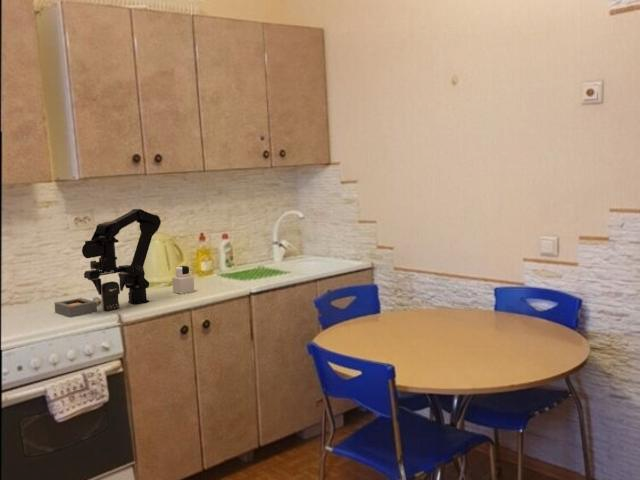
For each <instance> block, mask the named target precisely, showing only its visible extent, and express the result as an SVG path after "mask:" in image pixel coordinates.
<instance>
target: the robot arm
mask: <svg viewBox="0 0 640 480" xmlns="http://www.w3.org/2000/svg"><path fill="white" fill-rule="evenodd" d="M135 222H136V223H138V224H139V230H140V234H139V238H138V242H137V245H136V247H135V248H136V249H135V251H134V254H133V257H132V261H131V263H130V264H123V265H118V266H117V260H118V256H116V246H115V245H116V244H115V243H119V241H120V240H119V239H117V238H116V237H117V235H118V234H120V232H121V231H120V230H122V229H123V228H125V227H128V226H129V225H130V224H133V223H135ZM161 224H162V220H161V218H160V216H159V215H157V214H154V213H151V212H147V211H145V210H144V209H142V208H134V209H131V210H130V211H128V212H126V213H124V214H123V215H122V216H119V217H117V218H116V219H114V220H113V219H112V220H111V221H106V222H101V223H98V224H97V225H96V228H95V230H94V232H93V235H92V237H91V239H90V240H85V241H84V245H82V248H81V252H82V256H83V257H84V258H85V259H91V258H92V259H93V258H98V257H99V258H98V261H97V260H92V261H89V263H90V270H89V269H88V270H85V271H84V273H83V277H84V279H87V280H88V281H90V282H92V283H93V285H94V287H95V289H96V291H97V294H98V295H99V296H101V292H102V291H101V285H102V279H101V278H100V277H101V276H105V275H106V276H107V275H112V274H118V275H117V276H118V277H119V289H120V292H123V290H124V287H125V288H126V289H128V295H127V296H128V301H127V302H128V303H130V304H134V305H137V304H138V305H139V304H144V303H149V302H150V301H149V300H148V298H147V288H148V289H149V286H150V282H149V281H148V280H147V279H146V278H145V275H146V274H145V273H146V272H145V269H144V265H145V261H146V259H147V255H148V253H149V252H148V251H149V248H150V245H151V242H152V239H153V236H154V235H155V234H156V233H157V232H158V230H159V228H160V227H161Z"/></svg>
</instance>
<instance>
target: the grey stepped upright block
mask: <svg viewBox="0 0 640 480" xmlns="http://www.w3.org/2000/svg"><path fill="white" fill-rule="evenodd" d="M174 271H175V276H172V278H171V280H172V281H171V282H172V293H173V292H174V294H178V293H179V294H178V295H185V294H189V293H188V292H191V293H194V292H195V283H194V282H195V280H194V278H195V277H194V276H191V275H190V267H189V266H188V265H179V266H177V267H175V270H174ZM184 293H185V294H184Z"/></svg>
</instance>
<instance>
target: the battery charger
mask: <svg viewBox="0 0 640 480" xmlns="http://www.w3.org/2000/svg"><path fill="white" fill-rule="evenodd" d="M101 291H102V292H101V295H100V296H101V303H102V311H104V312H110V311H115V310H118V309H120V302H119V295H120V294H121V293H120V292H121V291H120V283H119V282H117V281H105V282H103V283H101Z"/></svg>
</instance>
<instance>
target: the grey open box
mask: <svg viewBox="0 0 640 480" xmlns="http://www.w3.org/2000/svg"><path fill="white" fill-rule="evenodd" d="M73 303H82V304H78V305H73V306H72V305H68V304H73ZM53 304H54V313H57V314H58V315H62V316H65V317H69V318H73V317H78V316H79V317H80V316H83V314H84V315H87V313H89V314H93V313H92V312H94V313H97V312H98V308H97V307H98V305H97V301H94V300H89V299H86V298H82V297H78V298H73V299H67V300H62V301H57V302H54V303H53Z"/></svg>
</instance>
